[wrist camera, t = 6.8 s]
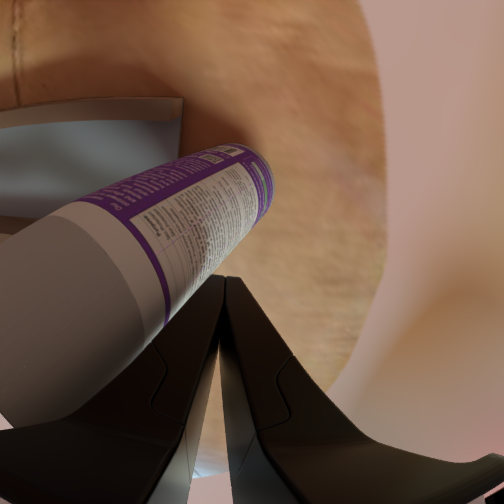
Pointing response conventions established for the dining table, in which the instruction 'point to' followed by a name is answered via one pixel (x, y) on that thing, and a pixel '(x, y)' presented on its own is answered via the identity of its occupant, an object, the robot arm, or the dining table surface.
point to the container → (116, 274)
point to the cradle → (79, 150)
